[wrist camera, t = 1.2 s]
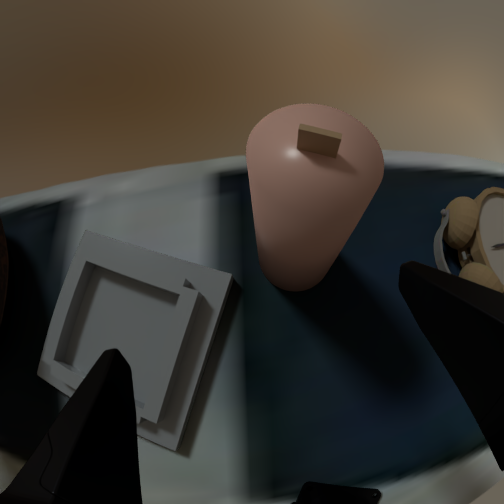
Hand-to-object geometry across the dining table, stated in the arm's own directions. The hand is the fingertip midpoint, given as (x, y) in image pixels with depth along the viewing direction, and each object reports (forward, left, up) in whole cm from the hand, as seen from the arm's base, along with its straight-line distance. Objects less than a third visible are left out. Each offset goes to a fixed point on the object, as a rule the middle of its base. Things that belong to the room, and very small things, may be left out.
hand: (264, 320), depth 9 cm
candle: (0, -7, -14) cm, 16 cm away
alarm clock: (-18, -12, -14) cm, 26 cm away
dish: (+11, +3, -14) cm, 18 cm away
